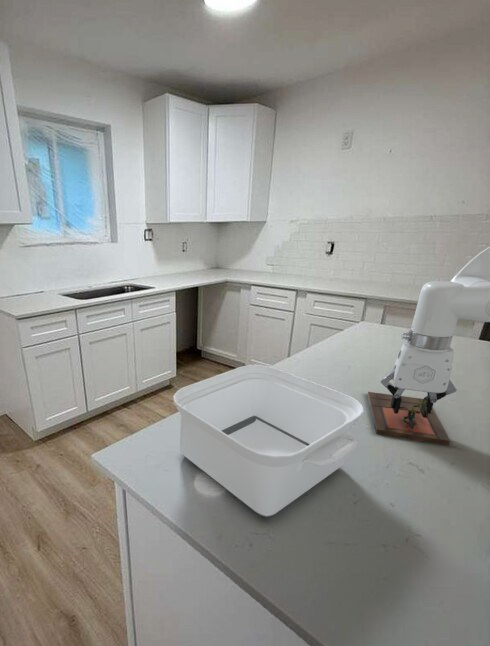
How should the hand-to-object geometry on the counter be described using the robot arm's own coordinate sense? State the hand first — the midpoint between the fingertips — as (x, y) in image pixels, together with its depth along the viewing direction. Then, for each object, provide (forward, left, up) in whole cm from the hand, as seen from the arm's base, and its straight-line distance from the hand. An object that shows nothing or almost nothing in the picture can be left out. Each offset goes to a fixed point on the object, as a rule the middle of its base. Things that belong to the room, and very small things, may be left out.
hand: (409, 412), depth 85 cm
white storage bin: (+31, +26, -4) cm, 41 cm away
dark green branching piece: (0, 0, -2) cm, 2 cm away
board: (0, -4, -3) cm, 5 cm away
